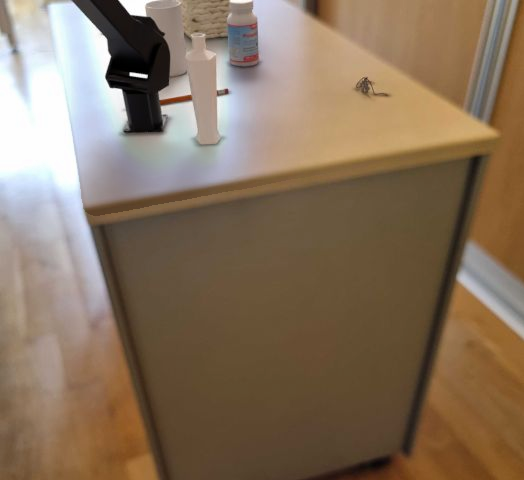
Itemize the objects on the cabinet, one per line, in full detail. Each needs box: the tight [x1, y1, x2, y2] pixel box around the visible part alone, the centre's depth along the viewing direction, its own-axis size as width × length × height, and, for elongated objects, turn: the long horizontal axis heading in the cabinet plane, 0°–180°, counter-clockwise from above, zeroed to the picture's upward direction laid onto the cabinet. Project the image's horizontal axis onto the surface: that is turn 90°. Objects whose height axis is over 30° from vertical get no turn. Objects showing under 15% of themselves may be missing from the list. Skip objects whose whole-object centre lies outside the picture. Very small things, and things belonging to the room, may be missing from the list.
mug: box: [144, 0, 187, 77], centre depth 112 cm, size 10×7×12 cm, turn 14°
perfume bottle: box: [185, 33, 221, 145], centre depth 85 cm, size 5×4×15 cm
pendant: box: [355, 76, 389, 96], centre depth 103 cm, size 8×4×3 cm, turn 28°
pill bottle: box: [227, 0, 260, 68], centre depth 114 cm, size 6×6×11 cm
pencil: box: [160, 87, 229, 106], centre depth 103 cm, size 1×19×1 cm, turn 111°
